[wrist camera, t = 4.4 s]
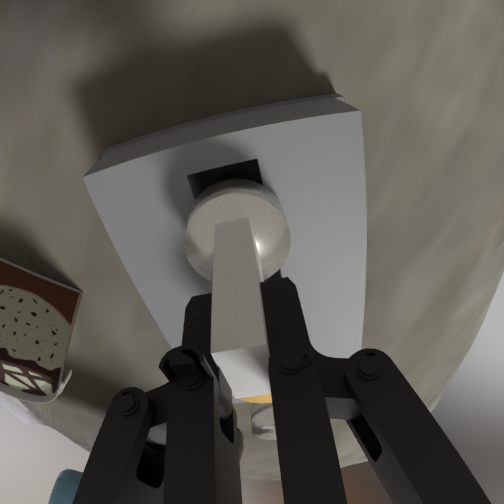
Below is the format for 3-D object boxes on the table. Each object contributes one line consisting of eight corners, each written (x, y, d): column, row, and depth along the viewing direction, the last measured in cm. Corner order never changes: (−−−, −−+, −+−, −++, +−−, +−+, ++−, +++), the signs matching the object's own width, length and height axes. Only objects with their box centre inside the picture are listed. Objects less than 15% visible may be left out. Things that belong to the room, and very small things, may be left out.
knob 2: (253, 383, 26) (258, 443, 22) (240, 352, 24) (245, 421, 19) (307, 372, 26) (319, 432, 21) (302, 340, 23) (318, 408, 19)
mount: (205, 361, 32) (205, 407, 27) (106, 147, 19) (73, 180, 14) (348, 333, 31) (363, 377, 26) (336, 93, 18) (371, 109, 13)
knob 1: (206, 232, 21) (202, 294, 16) (184, 164, 18) (169, 212, 13) (279, 216, 20) (296, 275, 16) (265, 145, 18) (282, 186, 13)
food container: (-7, 295, 25) (-47, 368, 17) (-13, 251, 22) (-65, 328, 14) (91, 336, 29) (67, 421, 21) (97, 296, 26) (65, 392, 18)
